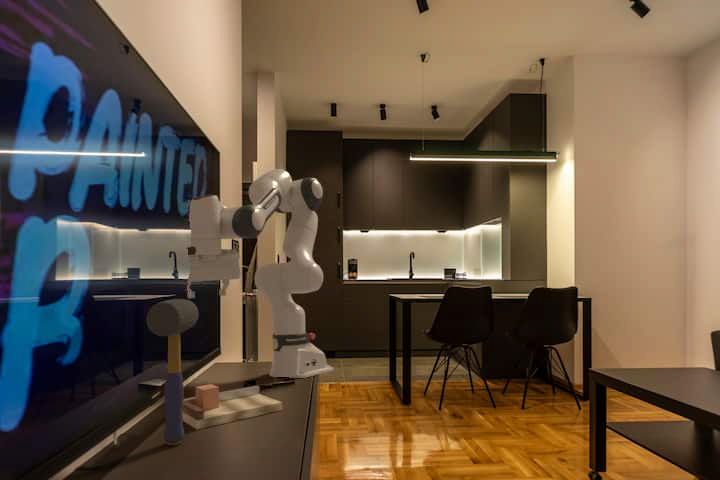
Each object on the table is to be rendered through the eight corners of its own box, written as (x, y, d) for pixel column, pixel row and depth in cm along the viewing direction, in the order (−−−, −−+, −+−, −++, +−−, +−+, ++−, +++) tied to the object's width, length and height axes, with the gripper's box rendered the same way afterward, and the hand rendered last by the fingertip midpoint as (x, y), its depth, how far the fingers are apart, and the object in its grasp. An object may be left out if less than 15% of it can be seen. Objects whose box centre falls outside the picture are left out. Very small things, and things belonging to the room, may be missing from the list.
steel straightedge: (256, 392, 134) (256, 385, 135) (259, 393, 133) (259, 386, 133) (176, 408, 121) (176, 400, 121) (178, 409, 119) (178, 401, 120)
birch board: (256, 400, 134) (256, 385, 135) (282, 410, 123) (281, 394, 124) (176, 416, 120) (176, 400, 121) (197, 429, 110) (196, 411, 110)
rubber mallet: (180, 454, 94) (180, 300, 97) (142, 455, 94) (143, 301, 97) (202, 433, 107) (201, 297, 109) (168, 434, 107) (168, 298, 109)
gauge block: (211, 403, 124) (211, 384, 124) (218, 407, 120) (218, 387, 121) (195, 406, 122) (195, 386, 122) (203, 410, 118) (203, 390, 118)
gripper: (234, 249, 151) (235, 293, 150) (167, 250, 138) (168, 299, 137) (243, 248, 146) (244, 294, 145) (175, 249, 133) (176, 300, 132)
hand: (207, 296), depth 141 cm, fingers open, 8 cm apart
